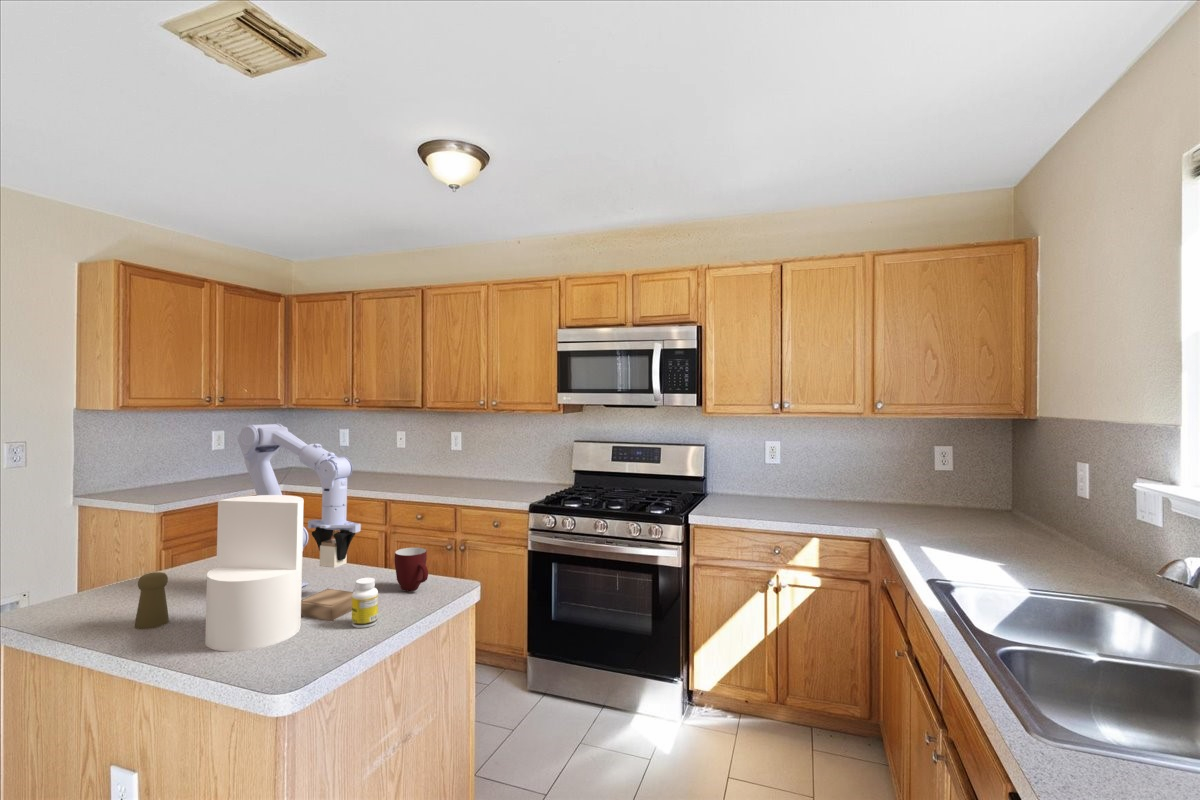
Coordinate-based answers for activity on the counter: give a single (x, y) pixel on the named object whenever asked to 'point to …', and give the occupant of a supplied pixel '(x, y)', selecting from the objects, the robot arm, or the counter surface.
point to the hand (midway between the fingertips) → (333, 558)
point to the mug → (411, 567)
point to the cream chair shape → (255, 573)
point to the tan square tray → (327, 604)
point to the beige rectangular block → (330, 554)
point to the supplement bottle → (365, 603)
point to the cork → (152, 601)
